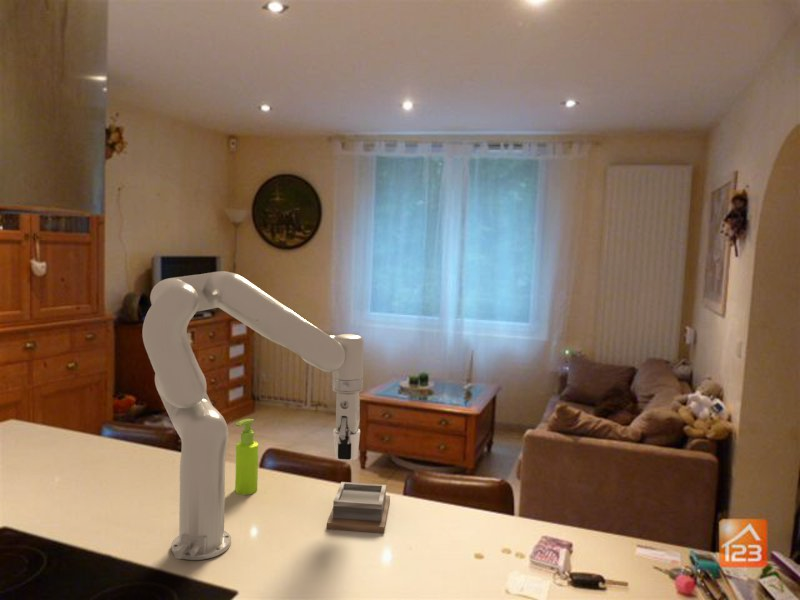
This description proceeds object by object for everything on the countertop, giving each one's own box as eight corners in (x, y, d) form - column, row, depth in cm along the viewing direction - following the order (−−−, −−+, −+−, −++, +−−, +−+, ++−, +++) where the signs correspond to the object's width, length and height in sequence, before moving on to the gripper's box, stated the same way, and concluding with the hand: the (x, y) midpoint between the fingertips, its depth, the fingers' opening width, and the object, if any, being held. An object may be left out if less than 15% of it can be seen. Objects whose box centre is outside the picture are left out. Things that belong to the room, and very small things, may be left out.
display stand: (384, 533, 141) (385, 510, 141) (326, 529, 142) (327, 506, 142) (389, 501, 159) (390, 480, 159) (338, 497, 160) (339, 477, 159)
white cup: (358, 462, 145) (359, 435, 144) (330, 461, 145) (331, 434, 144) (360, 452, 152) (361, 426, 151) (334, 451, 152) (334, 425, 151)
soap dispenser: (227, 492, 160) (229, 421, 158) (245, 484, 166) (247, 415, 164) (244, 498, 157) (245, 425, 155) (261, 489, 163) (263, 418, 161)
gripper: (358, 393, 138) (356, 467, 140) (366, 376, 155) (364, 442, 157) (326, 392, 138) (325, 466, 140) (338, 375, 155) (336, 441, 157)
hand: (346, 453), depth 148 cm, fingers closed on white cup, 5 cm apart
